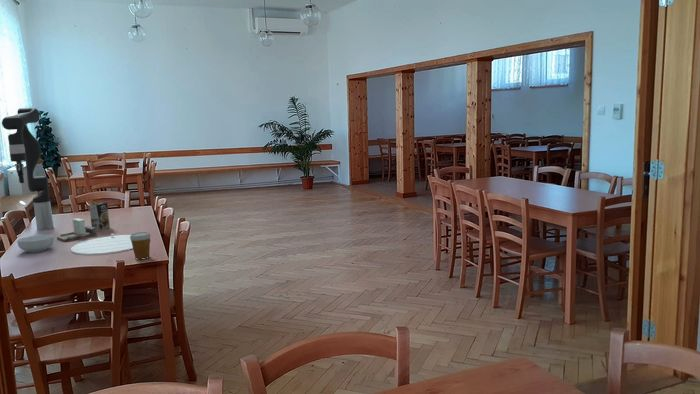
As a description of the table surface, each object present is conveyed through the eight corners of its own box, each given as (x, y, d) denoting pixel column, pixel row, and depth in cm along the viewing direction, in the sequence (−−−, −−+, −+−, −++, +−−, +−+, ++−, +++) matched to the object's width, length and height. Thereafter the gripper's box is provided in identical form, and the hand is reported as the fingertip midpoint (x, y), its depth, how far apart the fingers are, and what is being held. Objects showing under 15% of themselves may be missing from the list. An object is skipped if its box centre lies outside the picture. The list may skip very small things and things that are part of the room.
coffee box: (101, 231, 330) (98, 204, 327) (91, 231, 331) (88, 205, 328) (110, 227, 339) (107, 202, 336) (101, 227, 340) (98, 202, 337)
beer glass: (135, 256, 269) (132, 232, 267) (155, 254, 270) (152, 231, 268) (129, 261, 260) (126, 237, 258) (149, 260, 261) (147, 235, 259)
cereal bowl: (62, 247, 294) (60, 234, 292) (36, 255, 278) (34, 242, 277) (38, 245, 299) (37, 233, 298) (11, 254, 284) (9, 240, 282)
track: (64, 242, 305) (63, 234, 305) (57, 239, 313) (56, 231, 312) (96, 235, 318) (96, 228, 318) (89, 233, 326) (88, 225, 325)
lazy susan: (74, 242, 306) (74, 236, 305) (148, 233, 320) (148, 227, 319) (67, 259, 269) (66, 253, 269) (151, 249, 283) (150, 242, 283)
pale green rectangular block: (80, 235, 312) (78, 220, 311) (74, 233, 319) (72, 219, 317) (85, 234, 315) (84, 219, 313) (79, 232, 321) (77, 218, 319)
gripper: (24, 152, 304) (29, 183, 306) (25, 151, 315) (29, 181, 318) (9, 153, 300) (13, 184, 303) (10, 152, 311) (14, 182, 314)
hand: (21, 182), depth 310 cm, fingers closed
